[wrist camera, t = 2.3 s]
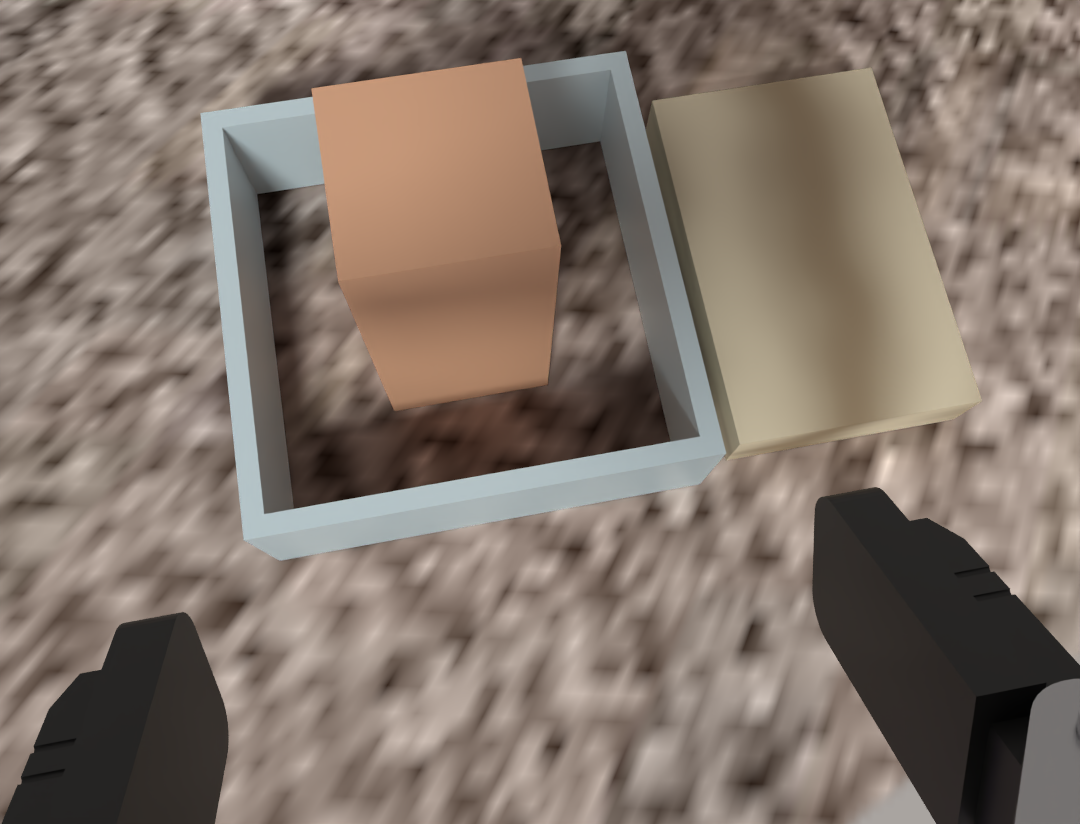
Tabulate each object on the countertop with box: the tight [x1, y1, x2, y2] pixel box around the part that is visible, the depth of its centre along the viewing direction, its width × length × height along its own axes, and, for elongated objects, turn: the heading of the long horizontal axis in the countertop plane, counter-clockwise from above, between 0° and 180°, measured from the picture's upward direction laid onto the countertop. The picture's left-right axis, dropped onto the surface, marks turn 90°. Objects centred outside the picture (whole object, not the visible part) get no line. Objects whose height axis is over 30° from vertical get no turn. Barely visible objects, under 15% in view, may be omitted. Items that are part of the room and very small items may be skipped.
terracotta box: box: [311, 58, 561, 411], centre depth 27 cm, size 5×5×10 cm
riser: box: [646, 68, 982, 460], centre depth 31 cm, size 8×12×2 cm, turn 11°
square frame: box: [201, 51, 726, 561], centre depth 29 cm, size 13×13×4 cm
